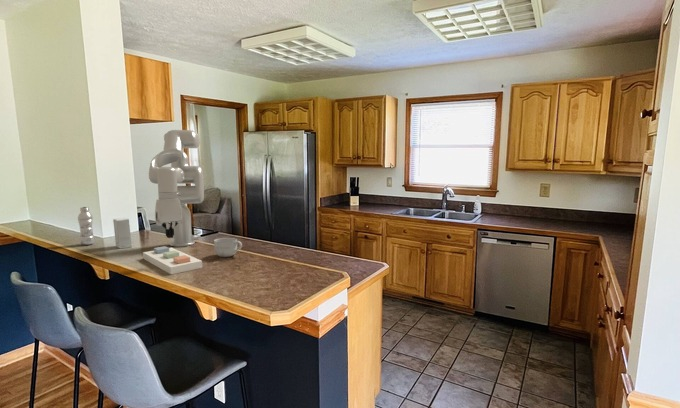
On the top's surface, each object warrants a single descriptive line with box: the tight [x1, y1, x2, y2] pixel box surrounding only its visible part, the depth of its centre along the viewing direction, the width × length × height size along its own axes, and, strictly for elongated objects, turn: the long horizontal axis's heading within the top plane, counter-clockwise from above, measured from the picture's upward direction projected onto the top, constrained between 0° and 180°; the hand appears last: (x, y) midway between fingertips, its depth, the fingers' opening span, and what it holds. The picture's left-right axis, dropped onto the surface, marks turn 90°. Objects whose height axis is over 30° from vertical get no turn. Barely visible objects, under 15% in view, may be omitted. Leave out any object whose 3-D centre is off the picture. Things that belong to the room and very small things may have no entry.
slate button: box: [153, 245, 170, 254], centre depth 168 cm, size 5×5×2 cm
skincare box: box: [112, 217, 133, 250], centre depth 188 cm, size 8×6×15 cm
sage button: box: [163, 251, 179, 259], centre depth 160 cm, size 5×5×2 cm
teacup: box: [213, 237, 243, 258], centre depth 173 cm, size 14×11×8 cm
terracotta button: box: [173, 255, 190, 264], centre depth 153 cm, size 5×5×2 cm
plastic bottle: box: [77, 206, 96, 246], centre depth 191 cm, size 6×7×20 cm
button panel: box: [142, 247, 203, 275], centre depth 161 cm, size 13×32×3 cm, turn 46°
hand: (170, 237), depth 159 cm, fingers closed
